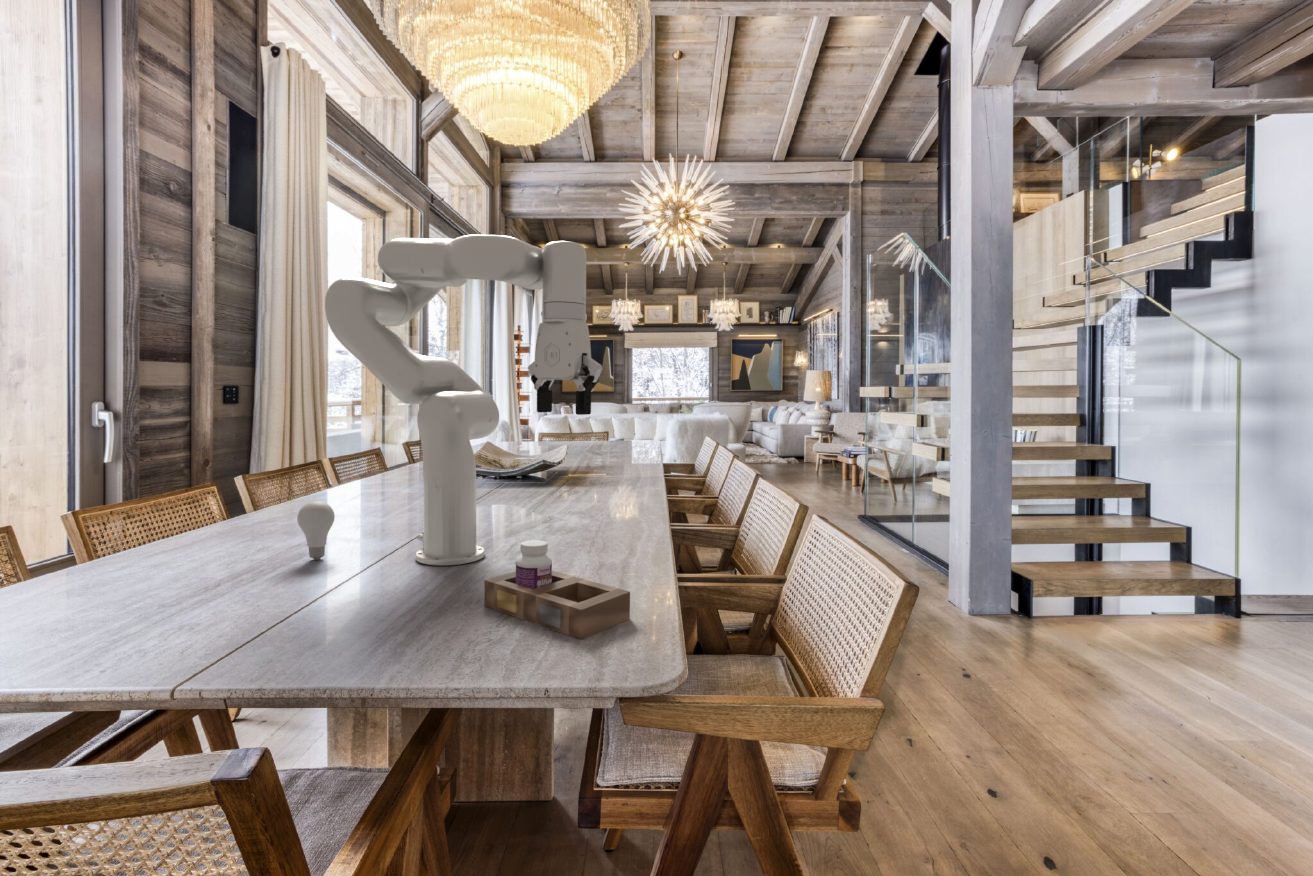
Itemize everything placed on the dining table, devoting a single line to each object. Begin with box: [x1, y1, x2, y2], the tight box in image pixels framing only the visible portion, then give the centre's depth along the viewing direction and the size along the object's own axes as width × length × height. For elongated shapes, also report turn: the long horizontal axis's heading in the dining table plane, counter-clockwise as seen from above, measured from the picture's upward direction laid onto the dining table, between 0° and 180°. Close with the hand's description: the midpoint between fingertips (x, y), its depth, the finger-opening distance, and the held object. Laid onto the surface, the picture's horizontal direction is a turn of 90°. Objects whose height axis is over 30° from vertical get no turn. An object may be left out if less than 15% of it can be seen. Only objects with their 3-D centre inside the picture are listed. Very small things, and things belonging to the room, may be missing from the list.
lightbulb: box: [297, 500, 335, 561], centre depth 120 cm, size 6×6×11 cm
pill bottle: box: [515, 539, 553, 589], centre depth 97 cm, size 5×5×10 cm
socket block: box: [483, 570, 631, 640], centre depth 95 cm, size 20×10×4 cm, turn 53°
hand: (563, 413), depth 114 cm, fingers open, 9 cm apart
